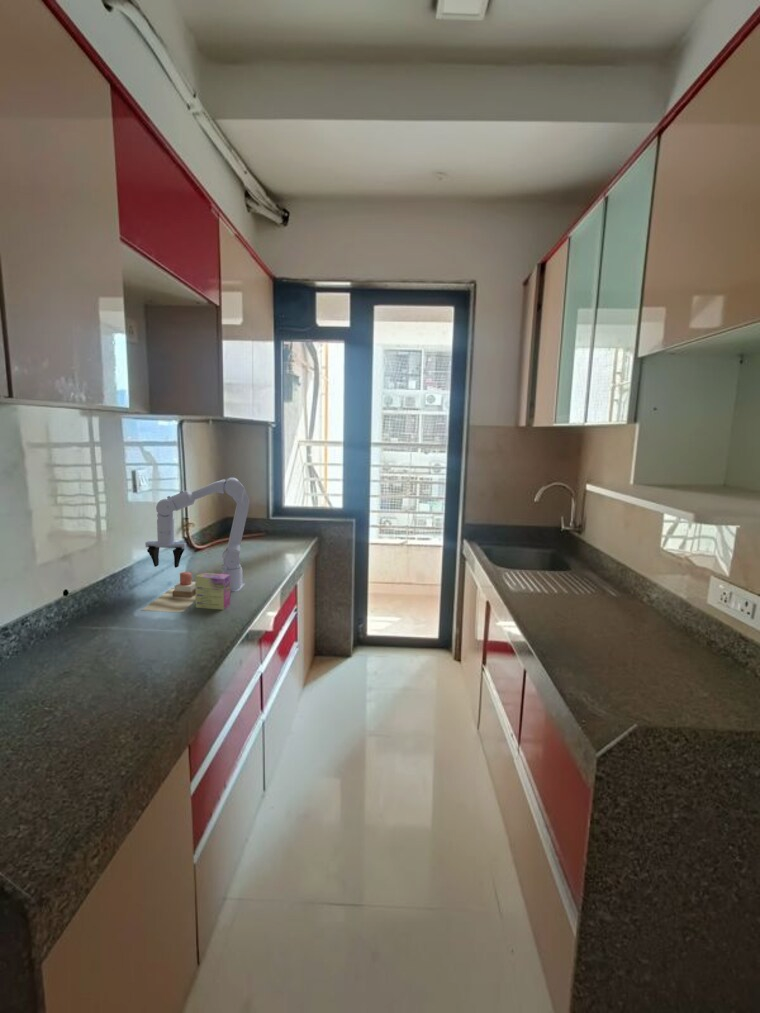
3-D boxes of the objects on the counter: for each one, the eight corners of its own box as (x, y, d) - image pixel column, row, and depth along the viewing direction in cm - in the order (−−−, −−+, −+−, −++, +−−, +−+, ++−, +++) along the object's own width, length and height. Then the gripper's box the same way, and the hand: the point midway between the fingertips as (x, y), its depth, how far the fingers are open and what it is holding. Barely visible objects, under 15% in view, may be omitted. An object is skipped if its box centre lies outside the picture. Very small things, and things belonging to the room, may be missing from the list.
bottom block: (180, 590, 181) (180, 585, 181) (198, 591, 181) (198, 586, 181) (172, 596, 174) (172, 591, 174) (191, 597, 174) (191, 592, 174)
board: (171, 589, 184) (171, 588, 183) (207, 591, 184) (207, 589, 184) (140, 612, 160) (140, 610, 160) (182, 613, 160) (182, 612, 160)
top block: (181, 586, 180) (181, 580, 180) (196, 586, 180) (196, 581, 180) (174, 591, 174) (174, 585, 174) (190, 591, 174) (190, 586, 174)
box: (230, 605, 170) (230, 574, 168) (223, 611, 164) (223, 578, 162) (203, 603, 170) (202, 571, 169) (195, 609, 165) (194, 576, 163)
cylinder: (182, 581, 179) (182, 571, 178) (193, 582, 179) (193, 572, 178) (178, 585, 175) (178, 574, 174) (188, 585, 175) (188, 575, 174)
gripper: (140, 532, 172) (142, 568, 174) (180, 534, 172) (181, 570, 174) (150, 528, 179) (151, 563, 181) (188, 530, 179) (188, 565, 181)
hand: (166, 566), depth 178 cm, fingers open, 7 cm apart
